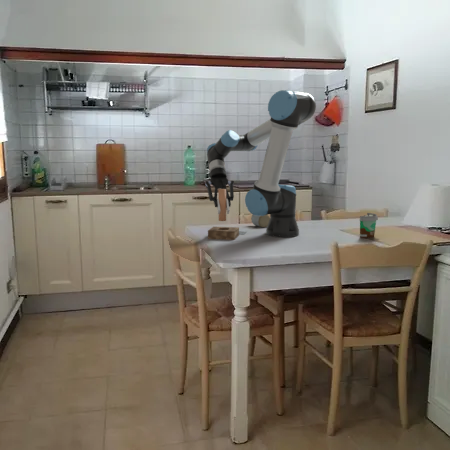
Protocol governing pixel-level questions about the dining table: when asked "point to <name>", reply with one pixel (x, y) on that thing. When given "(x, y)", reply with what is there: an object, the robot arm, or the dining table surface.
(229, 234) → the socket block
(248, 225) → the dining table surface
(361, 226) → the food container
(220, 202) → the dowel
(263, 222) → the grey beige can
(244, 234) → the mat
